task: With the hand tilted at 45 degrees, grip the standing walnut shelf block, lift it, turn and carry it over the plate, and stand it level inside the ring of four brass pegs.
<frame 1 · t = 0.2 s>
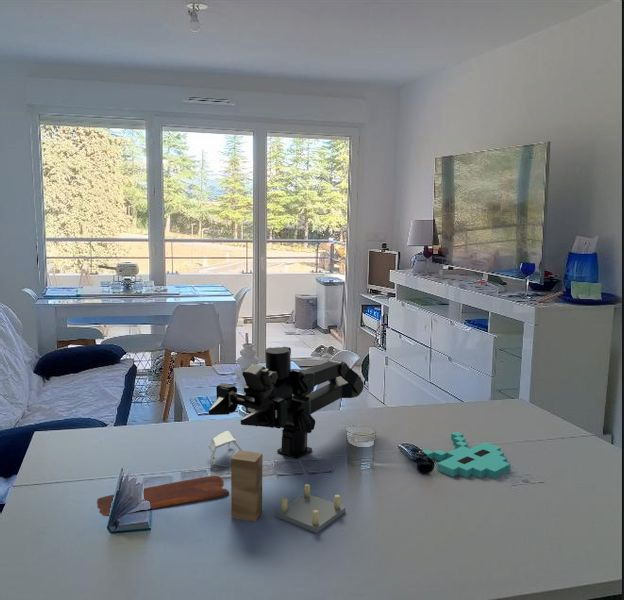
hand: (224, 417, 128), 17 cm above the table, tool horizontal, fingers open, 9 cm apart
peg plate: (310, 514, 121), on the table
wooden tablet: (164, 499, 128), on the table
alien figure: (465, 462, 148), on the table
walnut shelf block: (246, 514, 121), on the table
white gabled frame: (225, 456, 148), on the table
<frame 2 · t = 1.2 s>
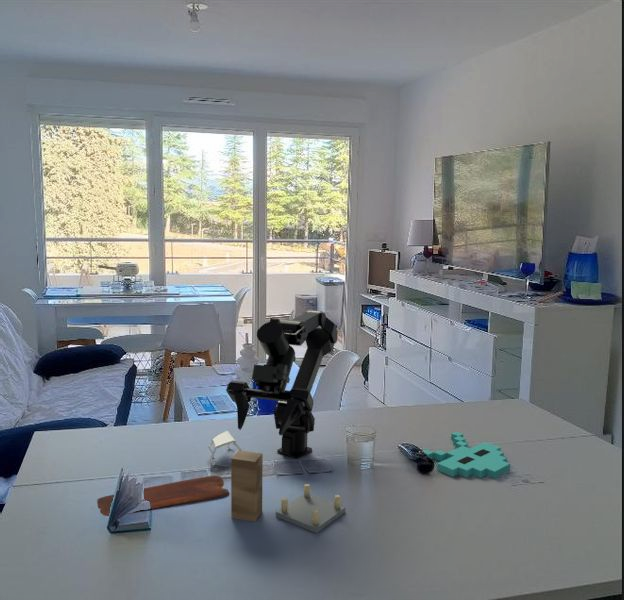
hand: (259, 431, 127), 14 cm above the table, tool tilted 45°, fingers open, 9 cm apart
nothing on the table moved.
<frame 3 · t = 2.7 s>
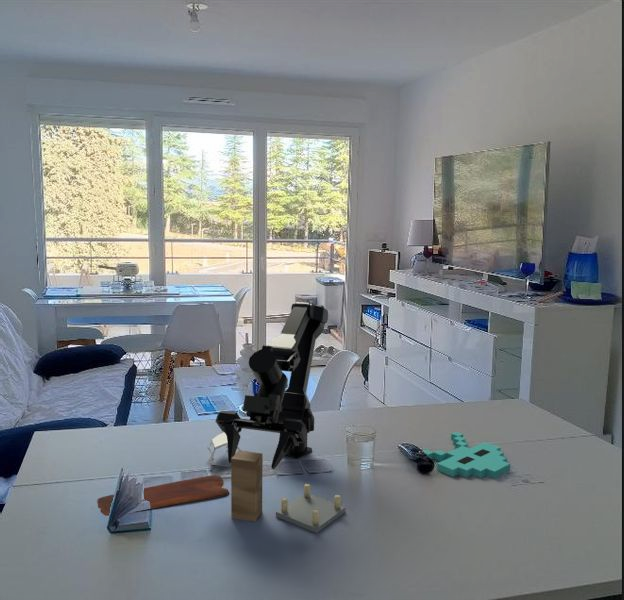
hand: (251, 465, 121), 9 cm above the table, tool tilted 45°, fingers open, 9 cm apart
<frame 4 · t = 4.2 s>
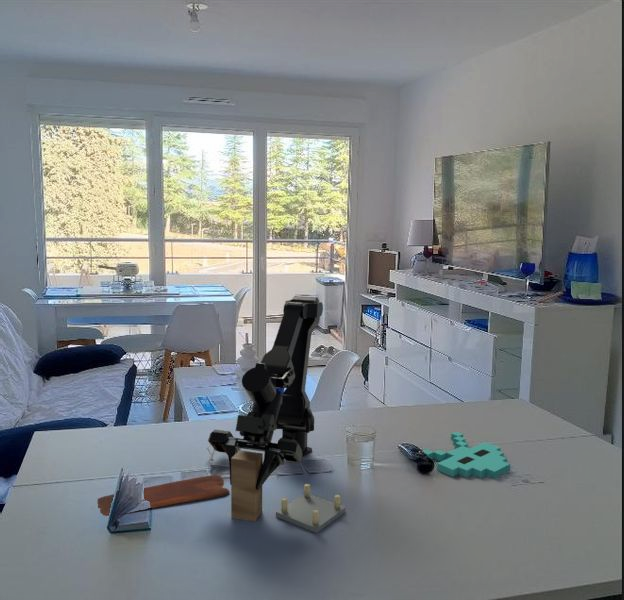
hand: (244, 487, 118), 7 cm above the table, tool tilted 45°, fingers closed on walnut shelf block, 5 cm apart
walnut shelf block: (246, 514, 121), on the table, touching gripper
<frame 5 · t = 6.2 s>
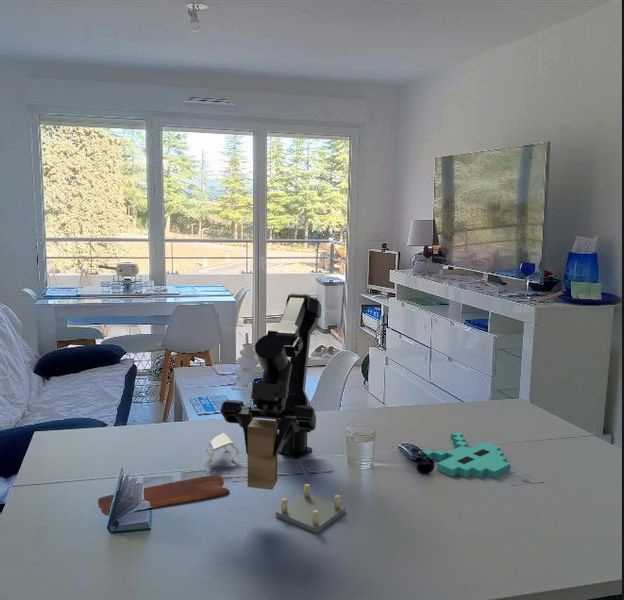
hand: (261, 455, 117), 13 cm above the table, tool tilted 45°, fingers closed on walnut shelf block, 5 cm apart
walnut shelf block: (262, 483, 119), point 7 cm above the table, touching gripper
when the fingers open (9 cm above the table, at t = 8.3 s): walnut shelf block drops 1 cm, resting on peg plate.
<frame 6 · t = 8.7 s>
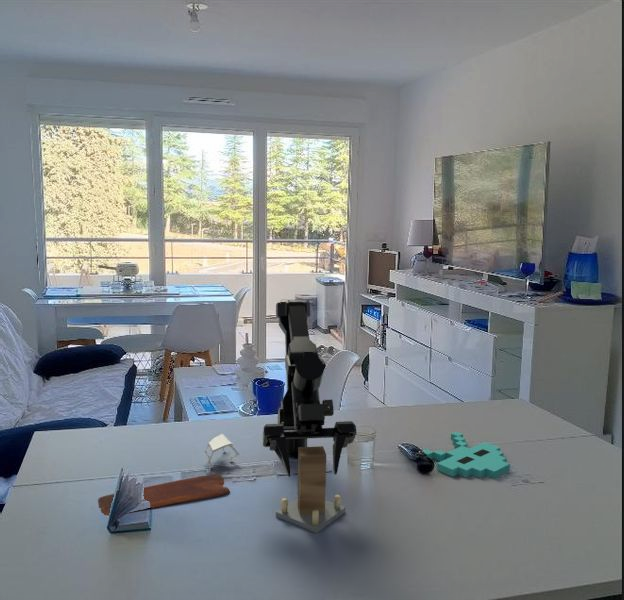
hand: (312, 475, 119), 9 cm above the table, tool tilted 45°, fingers open, 9 cm apart
walnut shelf block: (310, 509, 121), point 1 cm above the table, touching peg plate
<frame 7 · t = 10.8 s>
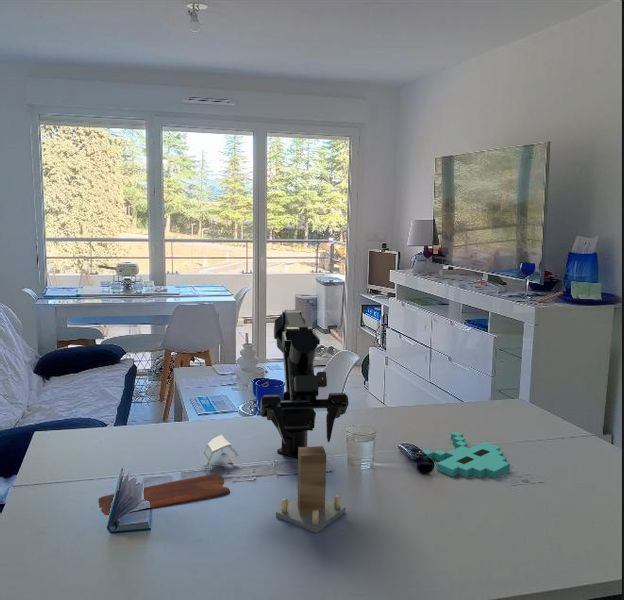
hand: (307, 442, 126), 12 cm above the table, tool tilted 45°, fingers open, 9 cm apart
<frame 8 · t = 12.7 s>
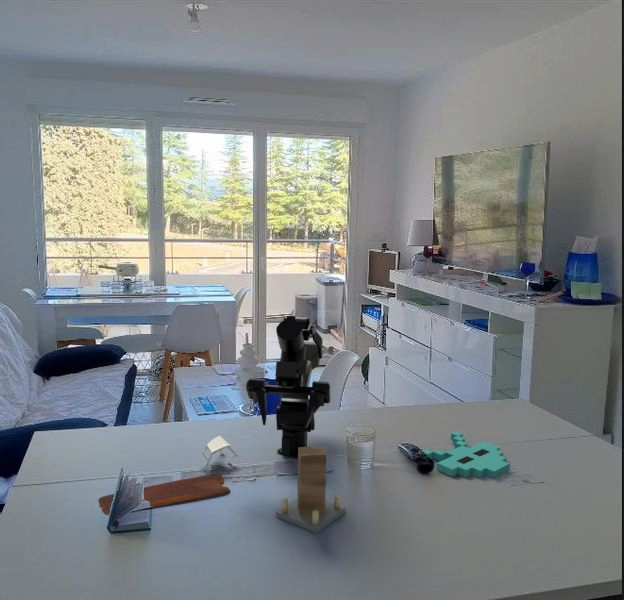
hand: (284, 425, 132), 14 cm above the table, tool tilted 45°, fingers open, 9 cm apart
at the end: walnut shelf block 0.0 cm off-centre on the peg plate, point 1.0 cm above the peg plate's base; walnut shelf block tilted 0°; the gripper is holding nothing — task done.
